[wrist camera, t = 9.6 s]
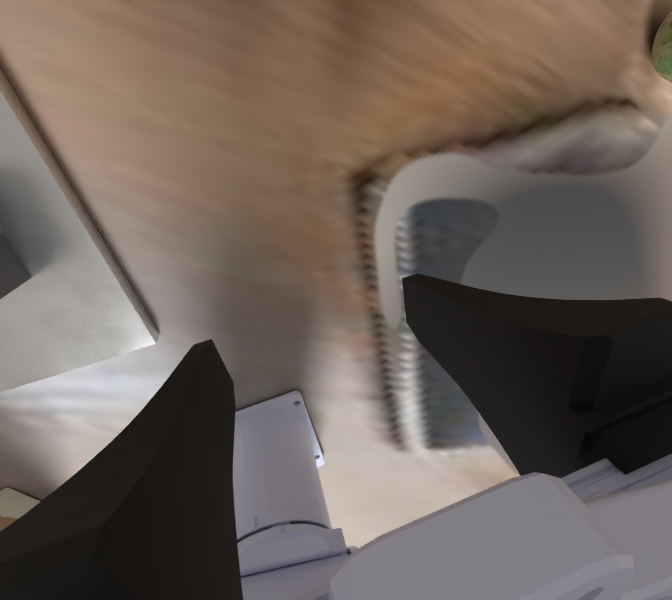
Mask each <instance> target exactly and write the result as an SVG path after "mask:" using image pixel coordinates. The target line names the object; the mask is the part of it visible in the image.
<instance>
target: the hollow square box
mask: <svg viewBox="0 0 672 600" xmlns="http://www.w3.org/2000/svg"><path fill="white" fill-rule="evenodd" d="M29 279H31V276H30V275H29V274H28V272H27V271H26V270H25V268H24V267H23V266H22V264H21V263H20V262H19V261H18V259H17V258H16V257H15V255H14V254H13V253H12V251H11V250H10V249H9V247H8V246H7V245H6V243H5V242H4V241H3V240H2V238H1V237H0V299H1V298H3V297H4V296H6V295H7V294H9V293H10V292H12V291H13V290H15V289H16V288H17V287H19V286H20V285H22V284H23V283H25V282H26V281H28V280H29Z"/></svg>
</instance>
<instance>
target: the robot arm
mask: <svg viewBox="0 0 672 600" xmlns="http://www.w3.org/2000/svg"><path fill="white" fill-rule="evenodd" d="M402 282H403V292H404V301H405V311H406V321H407V324H408V325H409V327H410V328H411V330H412V332H413V333H414V335H415V336H416V337H417V339H418V340H419V342H420V343H421V344H422V345H423V346H424V348H425V349H426V350H427V351H428V352H429V353H430V354H431V355H432V356H433V358H434V359H435V360H436V361H437V362H438V363H439V364H440V365H441V366H442V367H443V369H444V370H445V371H446V372H447V373H448V374H449V375H450V376H451V377H452V378H453V380H454V381H455V382H456V383H457V384H458V385H459V386H460V388H461V389H462V390H463V391H464V393H465V394H466V395H467V397H468V398H469V399H470V401H471V402H472V404H473V405H474V406H475V408H476V409H477V410H478V412H479V413H480V414H481V416H482V417H483V419H484V420H485V422H486V423H487V425H488V426H489V428H490V429H491V430H492V432H493V433H494V435H495V436H496V438H497V439H498V441H499V442H500V444H501V445H502V447H503V449H504V450H505V451H506V453H507V455H508V456H509V458H510V459H511V461H512V462H513V464H514V465H515V467H516V469H517V470H518V472H519V474H520V475H521V476H519V477H515V478H511V479H509V480H507V481H504V482H502V483H500V484H497V485H495V486H493V487H491V488H488V489H486V490H484V491H481V492H479V493H477V494H475V495H472V496H470V497H468V498H465V499H463V500H461V501H459V502H456V503H454V504H452V505H449V506H447V507H445V508H443V509H440V510H438V511H436V512H433V513H431V514H429V515H427V516H424V517H422V518H420V519H417V520H415V521H413V522H411V523H408V524H406V525H404V526H401V527H399V528H397V529H395V530H392V531H390V532H388V533H385V534H383V535H381V536H379V537H377V538H375V539H374V540H372V541H370V542H369V543H367V544H365V545H364V546H362V547H360V548H357V547H355V546H350V547H346V544H345V540H344V537H343V533H342V529H341V528H338V529H332V527H331V523H330V519H329V515H328V510H327V506H326V502H325V498H324V494H323V490H322V486H321V482H320V477H319V473H318V469H317V468H318V467H320V466H322V465H323V464H324V463H325V460H324V457H323V454H322V451H321V448H320V446H319V443H318V440H317V437H316V435H315V432H314V429H313V426H312V423H311V421H310V418H309V415H308V412H307V409H306V407H305V404H304V401H303V398H302V396H301V393H300V392H299V391H293V392H290V393H287V394H284V395H281V396H279V397H276V398H273V399H270V400H267V401H264V402H262V403H259V404H256V405H253V406H250V407H248V408H245V409H242V410H239V411H236V412H235V396H234V387H233V381H232V379H231V377H230V375H229V373H228V371H227V369H226V367H225V365H224V363H223V361H222V359H221V357H220V355H219V353H218V351H217V349H216V347H215V345H214V343H213V341H212V339H210V340H207V341H204V342H201V343H198V344H195V345H193V346H192V348H191V349H190V350H189V351H188V353H187V354H186V355H185V356H184V358H183V359H182V361H181V362H180V363H179V365H178V366H177V367H176V369H175V370H174V371H173V372H172V374H171V375H170V376H169V378H168V379H167V380H166V382H165V383H164V384H163V386H162V387H161V388H160V389H159V390H158V392H157V393H156V394H155V395H154V396H153V397H152V399H151V400H150V401H149V402H148V403H147V405H146V406H145V407H144V408H143V409H142V411H141V412H140V413H139V414H138V415H137V416H136V417H135V418H134V419H133V420H132V421H131V423H130V424H129V425H128V426H127V427H126V428H125V429H124V430H123V431H122V432H121V433H120V434H119V435H118V436H117V437H116V438H115V439H114V440H113V441H112V442H111V443H109V444H108V445H107V446H106V447H105V448H104V449H103V450H102V451H101V452H99V453H98V454H97V455H96V456H95V457H94V458H93V459H92V460H91V461H89V462H88V463H87V464H86V465H85V466H84V467H83V468H82V469H81V470H79V471H78V472H77V473H76V474H75V475H73V476H72V477H71V478H70V479H69V480H67V481H66V482H65V483H64V484H62V485H61V486H60V487H59V488H58V489H56V490H55V491H54V492H53V493H51V494H50V495H49V496H47V497H46V498H45V499H44V500H42V501H41V502H40V503H38V504H37V505H36V506H35V507H33V508H32V509H31V510H29V511H28V512H27V513H25V514H24V515H23V516H21V517H20V518H18V519H17V520H16V521H14V522H13V523H11V524H10V525H9V526H7V527H6V528H4V529H3V530H2V531H0V600H672V302H671V301H669V300H666V299H662V298H646V299H625V300H560V299H544V298H533V297H524V296H516V295H509V294H502V293H496V292H491V291H487V290H482V289H477V288H473V287H469V286H465V285H461V284H457V283H453V282H449V281H446V280H442V279H438V278H434V277H430V276H426V275H421V274H415V275H412V276H408V277H405V278H402ZM295 401H298V402H295Z"/></svg>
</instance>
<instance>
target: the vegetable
mask: <svg viewBox="0 0 672 600" xmlns="http://www.w3.org/2000/svg"><path fill="white" fill-rule="evenodd" d="M652 63H653V66H654V68H655V70H656V71H657V72H658V74H659V75H660V76H661V77H663V78H664V79H666V80H668V81H670V82H671V83H672V11H671V12H670V13H669V14H668V15H667V17H666V18H665V20H664V21H663V23H662V24H661V26H660V27H659V29H658V31H657V34H656V36H655V39H654V43H653V48H652Z"/></svg>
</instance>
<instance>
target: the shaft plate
mask: <svg viewBox="0 0 672 600" xmlns="http://www.w3.org/2000/svg"><path fill="white" fill-rule="evenodd" d="M0 237H1V238H2V240H3V241H4V242H5V243H6V245H7V246H8V247H9V249H10V250H11V251H12V253H13V254H14V255H15V257H16V258H17V259H18V261H19V262H20V263H21V264H22V266H23V267H24V268H25V270H26V271H27V272H28V274H29V275H30V276H31V279H29V280H28V281H26V282H25V283H23V284H22V285H20V286H19V287H17V288H16V289H15V290H13V291H12V292H10V293H9V294H7V295H6V296H4V297H3V298H1V299H0V392H3V391H6V390H9V389H12V388H16V387H19V386H22V385H25V384H28V383H32V382H35V381H38V380H41V379H44V378H48V377H51V376H54V375H57V374H60V373H64V372H67V371H70V370H73V369H76V368H80V367H83V366H86V365H89V364H92V363H96V362H99V361H102V360H105V359H108V358H112V357H115V356H118V355H121V354H124V353H128V352H131V351H134V350H137V349H140V348H144V347H147V346H150V345H153V344H156V343H157V340H158V338H159V335H160V334H159V333H158V331H157V329H156V328H155V326H154V324H153V323H152V321H151V319H150V318H149V316H148V314H147V313H146V311H145V309H144V308H143V306H142V304H141V303H140V301H139V299H138V298H137V296H136V294H135V293H134V291H133V289H132V288H131V286H130V284H129V283H128V281H127V279H126V278H125V276H124V274H123V273H122V271H121V269H120V268H119V266H118V264H117V263H116V261H115V259H114V257H113V256H112V254H111V252H110V251H109V249H108V247H107V246H106V244H105V242H104V241H103V239H102V237H101V236H100V234H99V232H98V231H97V229H96V227H95V226H94V224H93V222H92V221H91V219H90V217H89V216H88V214H87V212H86V211H85V209H84V207H83V206H82V204H81V202H80V201H79V199H78V197H77V196H76V194H75V192H74V191H73V189H72V187H71V186H70V184H69V182H68V181H67V179H66V177H65V175H64V174H63V172H62V170H61V169H60V167H59V165H58V164H57V162H56V160H55V159H54V157H53V155H52V154H51V152H50V150H49V149H48V147H47V145H46V144H45V142H44V140H43V139H42V137H41V135H40V134H39V132H38V130H37V129H36V127H35V125H34V124H33V122H32V120H31V119H30V117H29V115H28V114H27V112H26V110H25V109H24V107H23V105H22V104H21V102H20V100H19V99H18V97H17V95H16V94H15V92H14V90H13V88H12V87H11V85H10V83H9V82H8V80H7V78H6V77H5V75H4V73H3V72H2V70H1V68H0Z"/></svg>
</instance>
